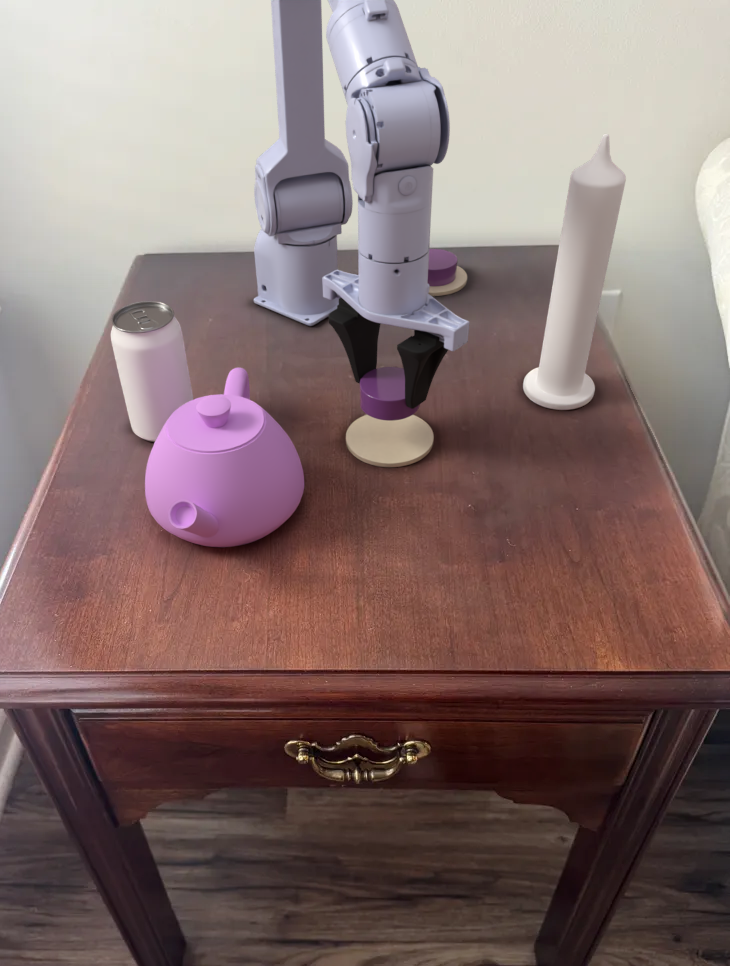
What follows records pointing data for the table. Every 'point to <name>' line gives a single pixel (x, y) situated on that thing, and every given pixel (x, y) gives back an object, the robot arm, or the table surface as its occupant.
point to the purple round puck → (441, 267)
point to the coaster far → (450, 285)
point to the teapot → (223, 470)
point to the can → (150, 364)
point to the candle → (578, 283)
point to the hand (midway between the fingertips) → (390, 390)
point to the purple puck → (385, 394)
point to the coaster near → (389, 440)
